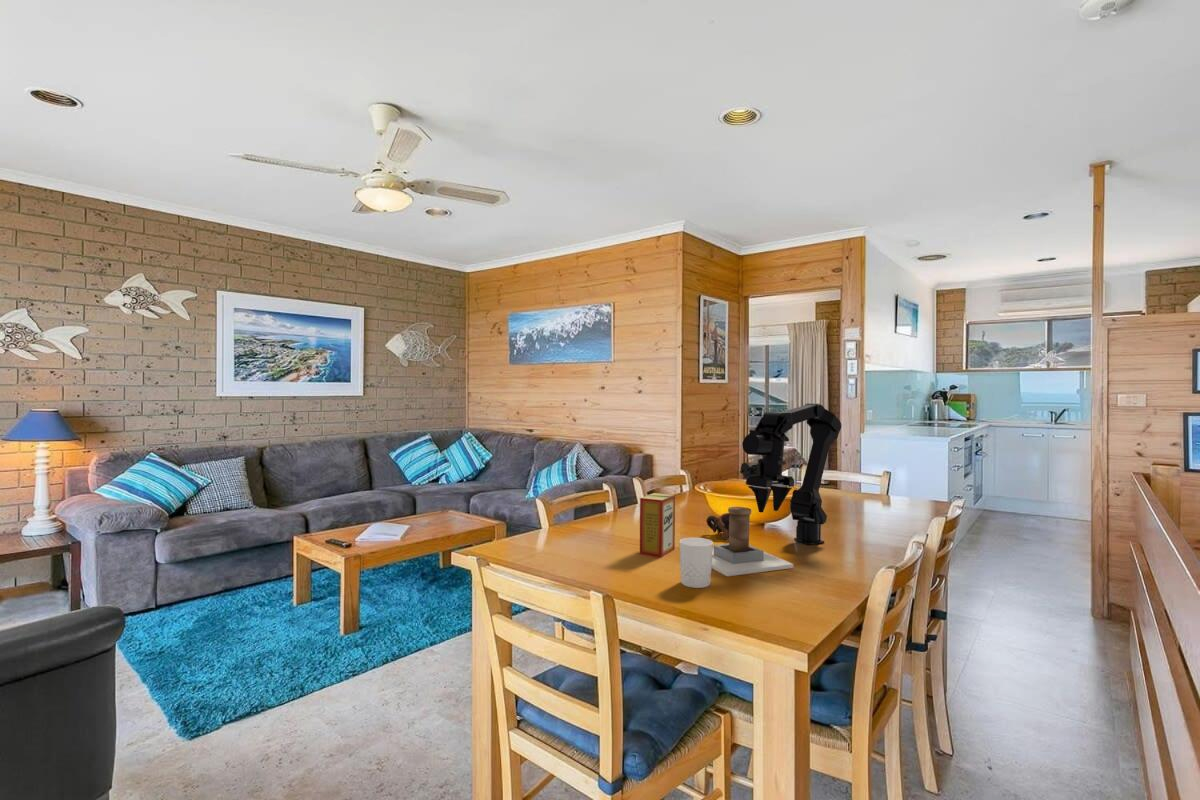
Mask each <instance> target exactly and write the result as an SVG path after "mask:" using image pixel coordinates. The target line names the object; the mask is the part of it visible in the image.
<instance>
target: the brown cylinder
mask: <svg viewBox="0 0 1200 800" xmlns="http://www.w3.org/2000/svg"><path fill="white" fill-rule="evenodd" d="M727 509H728V510H727V513H730V520H729V537H728V544H729V551H732V552H734V553H738V552H747V551H749V545H750V520H751V519H750V516H751V515H752V509H751V508H749V507H744V506H729V507H728V508H727Z"/></svg>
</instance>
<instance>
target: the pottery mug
mask: <svg viewBox="0 0 1200 800" xmlns="http://www.w3.org/2000/svg"><path fill="white" fill-rule="evenodd" d="M705 520H706V525H707V526H708V527H709V528H710V529H711V530H712V532H713V534H716V532H717V534H720V533H721V535H720V538H721V540H722V539H723V540H724V541H726V540H727V539H729V520H730V513H728V512H725V513H724V512H723V513H722V514H721V515H720V516H719V517H717V516H715V515H709V516H708V517H707V518H706V519H705Z"/></svg>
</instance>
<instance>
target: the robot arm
mask: <svg viewBox="0 0 1200 800" xmlns="http://www.w3.org/2000/svg"><path fill="white" fill-rule="evenodd" d="M802 422H806V424H807V425H808V426H809V428H810V429H809V434H810V436H811V439H812V444H811V448H810V453H809V456H808V459H807V460H808V461H807V464H806V468H805V471H804V472H805V473H804V477H803V480H802V484H801V486H800V487H799V488H798V489H797V488H796V489H794V490H793V491H792V495H791V499H790V501H789V502H790V504H789V507H790V508H789V509H790V513H791V517H792V520H794V521H796V522H797V526H795V527H796V528H795V529H796V530H795V531H796V532H795V536H796V537H794V538H793V541H795V542H799V543H802V544H803V545H804V544H805V545H815V544H816V545H817V544H824V543H825V540H822V537H821V536H822V535H821V534H822V532H821V531H822V525H825V524H826V523H827V519H828V515H827V514H826V512H825V511H824V509H823V507H822V503H823V500H822V496H821V495H820V488H821V487H820V486H821V483H822V478H823V473H824V470H825V466H826V463H827V460H828V453H829V451H830V446H831V445H832V444H834V442H836V440H837V439H838V437H839V435H840V432H841V430H842V423H841V421H840V419H839V418H838V417H837V416H836V414H834V413H832V411H829V410H828V409H826V408H825V407H824V405H822V404H820V403H810V402H808V403H805V404H804V405H801V406H798V407H795V408H791V409H788V410H785V411H766V412H763V414H762V417H761V418H760V420H759V422H758V423H757V425H756V427H755V429H749V433H748V434H747V435H746V436H745V437H744V438H743V441H742V443H741V445H742V450H743V451H744V453H746V454H747V455H748V456H751V455H752V456H761V457H762V458H758V459H757V464H756V463H755V464H751V463H750V462H743V463H741V466H740V470H739V473H740V474H742V477H743V479H744V480H745V485H747V487H748V488H749V489H751V491H752V492H753V493H754V494H753V495H754V497H755V501H756V505H757V509H758V512H759V513H764V511H765V509H766V506H767V504H768V500H769V498H770V496H771V493H772V503H773V504H772V505H773V506H772V507H773V511H774V512H777V511H779V509H780V507H781V506H782V504H783V502H784V501H785V499H786V497H787V496H788V494H789V492H790V491H791V490H792V488H793V487H795V479H794V477H793V476H789V475H783V465H786V463H787V462H786V460H784V451H785V442H789V441H790V439H789V437H788V436H787V435H786V433H787V432H789V431H790V430H792V429H793V426H794V425H797V424H799V423H802Z"/></svg>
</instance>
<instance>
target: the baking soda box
mask: <svg viewBox="0 0 1200 800" xmlns="http://www.w3.org/2000/svg"><path fill="white" fill-rule="evenodd" d="M675 525H676V494H668V493H667V494H666V493H658V492H657V493H656V492H653V493H651V494H647V495H645V496H643V497H642V496H641V497H640V498H639V555H643V556H649V557H655V558H663V557H664V556H667V554H669V553H671V552H673V551H675V546H676V545H675V544H676V543H675V539H676V537H675V535H676V532H675V531H676V530H675V529H676V528H675V527H676V526H675Z"/></svg>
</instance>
